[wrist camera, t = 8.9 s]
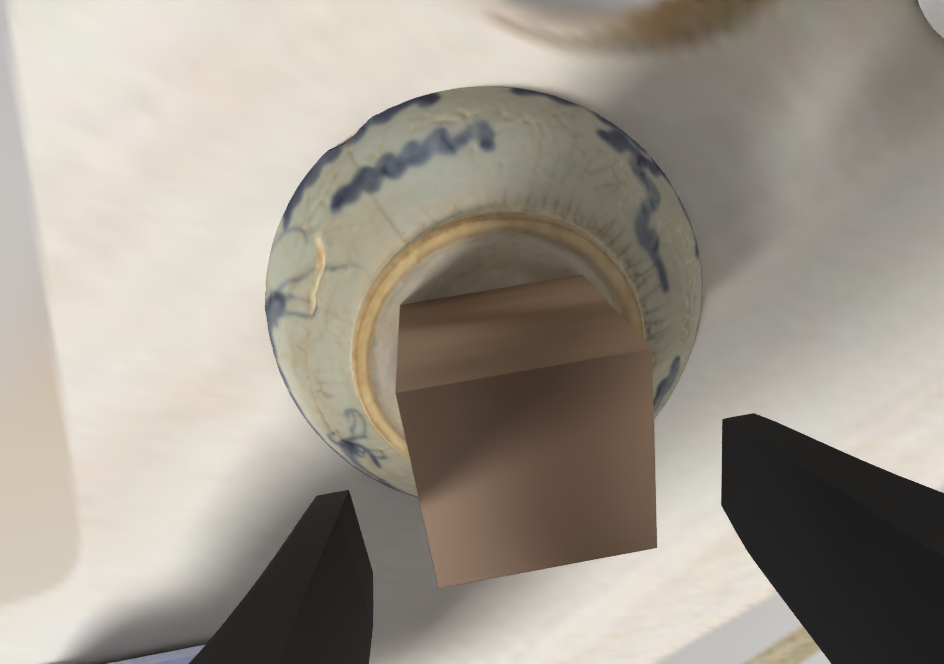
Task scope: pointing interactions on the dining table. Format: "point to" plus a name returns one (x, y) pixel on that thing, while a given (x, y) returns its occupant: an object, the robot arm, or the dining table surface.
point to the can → (934, 14)
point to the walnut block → (527, 428)
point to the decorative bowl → (465, 247)
